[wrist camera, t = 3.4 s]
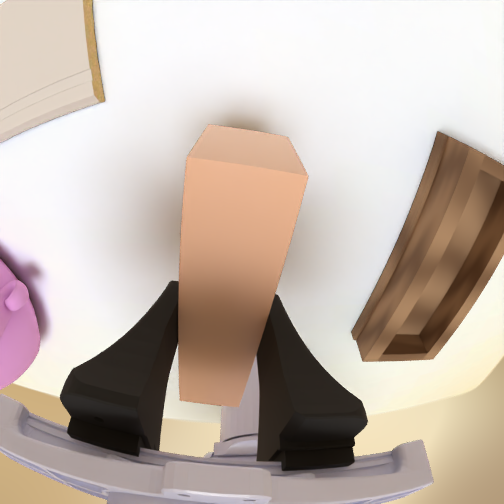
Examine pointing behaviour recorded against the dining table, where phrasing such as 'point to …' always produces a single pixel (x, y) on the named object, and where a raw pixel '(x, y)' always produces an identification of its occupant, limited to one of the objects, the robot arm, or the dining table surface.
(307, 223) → the dining table surface
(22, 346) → the teapot
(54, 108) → the baseboard
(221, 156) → the clay block
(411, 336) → the tray
